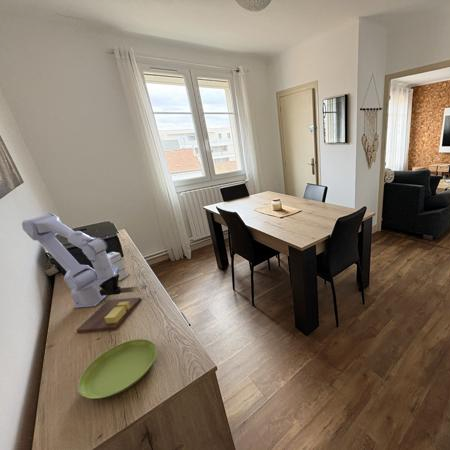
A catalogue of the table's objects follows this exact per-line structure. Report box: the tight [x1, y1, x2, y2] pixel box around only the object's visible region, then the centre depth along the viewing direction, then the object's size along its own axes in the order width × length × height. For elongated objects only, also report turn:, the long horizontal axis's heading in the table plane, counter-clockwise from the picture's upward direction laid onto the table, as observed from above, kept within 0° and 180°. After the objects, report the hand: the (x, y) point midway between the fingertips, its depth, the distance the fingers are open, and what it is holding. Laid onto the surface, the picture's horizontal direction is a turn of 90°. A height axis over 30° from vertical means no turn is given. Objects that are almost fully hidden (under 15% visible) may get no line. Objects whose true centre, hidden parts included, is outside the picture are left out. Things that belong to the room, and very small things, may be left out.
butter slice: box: [117, 301, 131, 310], centre depth 104 cm, size 4×2×3 cm, turn 93°
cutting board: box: [76, 297, 142, 334], centre depth 103 cm, size 15×18×2 cm
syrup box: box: [107, 251, 129, 282], centre depth 129 cm, size 6×6×14 cm
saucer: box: [77, 338, 157, 400], centre depth 77 cm, size 21×21×3 cm
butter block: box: [105, 307, 126, 324], centre depth 99 cm, size 4×6×3 cm, turn 3°
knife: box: [99, 285, 140, 296], centre depth 108 cm, size 16×2×3 cm, turn 93°
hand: (113, 292), depth 108 cm, fingers closed on knife, 2 cm apart
